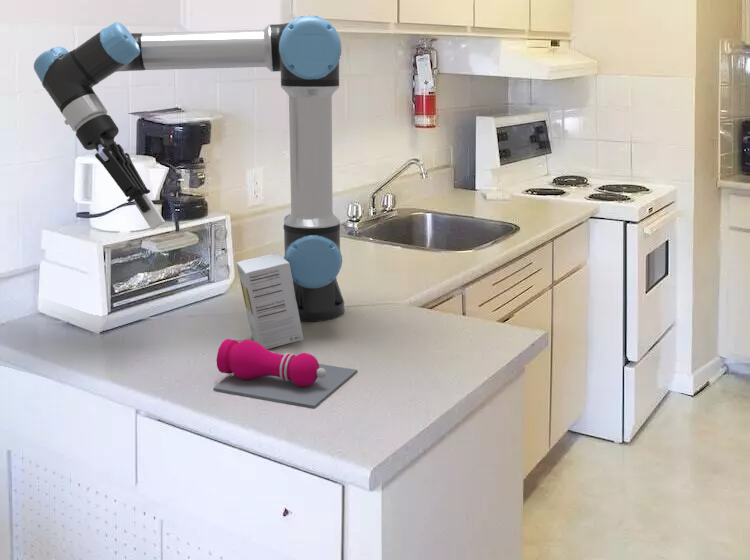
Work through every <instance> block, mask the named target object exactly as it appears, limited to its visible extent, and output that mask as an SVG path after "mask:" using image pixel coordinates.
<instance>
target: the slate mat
mask: <svg viewBox="0 0 750 560" xmlns="http://www.w3.org/2000/svg"><path fill="white" fill-rule="evenodd" d="M319 368H324V369H325V371H326V375H325V377H323V378H319V377H317V379H316V381H315V382H314V383H313V384H312V385H310V386H307V387H300V386H297V385H296V384H294V383H293V381H292V380H291V381H286V380H285V381H283V380H282V379H281V378H280V377H277V376H262V377H258V378H255V379H247V380H246V379H240V378H238V377H236V376H235V375H234V374H233V375H231V376H230V377H228V378H227V379H225V380H224V381H222V382H221V383H219V384H217V385H216V386H214V387H213V391H214V392H218V393H219V392H220V393H225V394H232V395H236V396H242V397H246V398H247V397H248V398H253V399H260V400H265V401H270V402H276V403H282V404H286V405H287V404H288V405H292V406H298V407H305V408H309V409H316V408H317V407H318V406H319V405H321V403H323V402H324V401H325V400H326V399H328V398H329V397H330V396H331V395H333V393H334V392H336V391H337V390H338V389H340V388H341V387H342V386H343V385H344V384H346V382H348V381H349V380H350V379H351V378H352V377H353V376H355V375H356V374H357V373H358V369H354V368H348V367H341V366H336V365H335V366H334V365H328V364H322V363H319Z"/></svg>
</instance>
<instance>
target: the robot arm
mask: <svg viewBox="0 0 750 560" xmlns="http://www.w3.org/2000/svg"><path fill="white" fill-rule="evenodd" d="M341 55H342V41H341V37H340V35H339V33H338V32H337V30H336V28H335V27H334V26H333V24H331V22H329V21H328V20H326V19H325V18H323V17H319V16H316V15H310V14H309V15H302V16H301V15H300V16H298V17H296V18H295V19H292V20H291V21H289V22H286V23H277V24H275V23H274V24H268V25H267V26H266V27H264V28H263V29H246V30H245V29H243V30H208V31H206V30H205V31H173V32H172V31H171V32H170V31H169V32H168V31H167V32H140V33H139V32H138V33H137V32H136V33H135V32H133V33H132V32H130V31H129V29H128V28H127V27H126V26H125V25H124V24H123V23H122V22H119V21H116V22H113V23H111V24H110V25H108V26H106V27H103V28H101V30H100V31H99V32H97V33H96V34H95V35H93V36H92V37H91V38H89V39H88V40H86V41H85V42H83V43H82V44H81V45H79V46H78V47H76V48H75V49H73V50H70V51H69V50H68V49H67V48H65V47H62V46H55V47H52V48H50V49H48V50H46V51H44V52H42V53H40V54H39V55H38V56H37V57H36V59H35V61H34V63H33V70H34V72H35V73H36V75H37V77H38V79H39V81H40V83H41V85H42V87H43V88H44V90H45V91H46V92H47V94H48V95H49V96H50V98H51V99H52V101H53V102H54V104H55V105H56V106H57V108H58V110H59V111H60V113H61V114H62V116H63V118H65V120H64V124H65V125H66V126H67V125H68V126H69V127H70V128H71V129H72V131H73V132H75V136H76V137H77V139H78V141H79V142H80V144H81V146H82V147H83V148H84V149H85V150H87V151H92V150H95V151H97V152H96V153H95V154H94V156H95V158H96V160H98V161H99V163H100V164H102V166H103V167H104V170H106V171H107V173H108V174H109V175H110V177H111V178H112V179H113V180H114V182H115V183H116V185H117V187H119V189H120V190H121V192H122V193H123V194H124V196H125V197H127V199H126V202H128V203H132V202H133V203H134V205H135V206H136V208H137V210H138V211H139V212H140V213H141V215H142V217H143V218H144V220H145V222H146V223H147V224H148V226H149V228H150V230H155V229H157V228H158V227H161V226H162V225H163V224H165V223H166V221H165V219H164V218H163V216H162V215H161V212H159V210H158V209H157V207H156V205H155V204H154V202H153V201H152V200H151V198H150V196H149V195H148V194H150V193H151V190H150V189H148V188H147V186H146V184H145V183H144V181H143V179H142V177H141V175H140V174H139V171H138V170H137V168H136V167H135V165H134V163H133V161H132V159H131V156H130V154H129V153H127V152H124V151H125V150H124V148H123V146H122V145H120V144H119V143H117V142H116V141H115V137H117V135H118V134H119V133H120V132H119V128H118V125H117V124H116V123H115V122H114V120H113V118H112V116H111V115H109V114H108V110H107V108H106V107H105V106H104V103H103V102H102V101H101V99H100V98H99V96H98V95H97V94H96V93H95V91H94V89H93V87H94V86H96V85H97V84H100V83H101V82H102V81H104V80H105V79H106V78H108V77H109V76H111V75H112V74H114V73H116V72H135V71H137V72H138V71H157V70H158V71H159V70H160V71H161V70H163V71H164V70H165V71H166V70H167V71H168V70H197V69H199V70H200V69H201V70H202V69H205V70H207V69H231V68H232V69H235V68H237V69H238V68H240V69H243V68H267V69H268V70H269V71H270V72H280V87H281V89H282V90H283V91H284V92H285V93H286V94H287V96H288V113H289V114H288V115H289V116H288V121H289V160H290V161H289V168H290V169H289V172H290V173H289V174H290V214H287V215H286V216H285V217H284V219H283V220H284V221H283V225H282V228H283V231H284V232H283V236H284V239H283V240H284V243H283V244H284V245H283V246H284V256H283V258H284V259H285V260H286V261H288V262H289V263H290V268H291V274H292V279H293V285H294V292H295V298H296V302H297V307H298V312H299V317H300V322H317V321H318V322H319V321H326V320H327V321H328V320H331V319H335V318H338V317H340V316H342V315H343V314H344V313H345V301H344V297H343V295H342V291H341V288H340V286H339V282H338V278H337V277H338V275H339V273H340V271H341V269H342V265H343V255H342V252H341V222H340V219H339V218H338V217H337V216H336V215H335V214H334V213H333V211H334V210H333V103H332V102H333V95H334V93H335V92H336V91H337V90H338V89H339V88H340V59H341Z"/></svg>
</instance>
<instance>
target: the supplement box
mask: <svg viewBox="0 0 750 560" xmlns="http://www.w3.org/2000/svg"><path fill="white" fill-rule="evenodd" d="M236 267H237V272H238V273H237V274H238V277H239V282H240V286H241V293H242V297H243V302H244V306H245V310H246V316H247V321H248V324H249V330H250V331H249V332H250V334H251V337H252V339H253V341H255V342H257V343H259V344H260V345H262V346H263V347H265V348H266V349H267V350H269V349H273V348H276V347H280V346H285V345H288V344H291V343H295V342H299V341H303V340H304V334H303V328H302V323H301V321H300V317H299V312H298V307H297V302H296V298H295V292H294V285H293V279H292V274H291V268H290V263H289V262H288V261H286V260H285V259H284V256H282V255H281V254H280V252H274V253H270V254H265V255H262V256H257V257H252V258H248V259H244V260H240V261H236Z"/></svg>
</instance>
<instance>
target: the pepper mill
mask: <svg viewBox="0 0 750 560" xmlns="http://www.w3.org/2000/svg"><path fill="white" fill-rule="evenodd" d="M319 364H320V363H319V360H318V359H317V358H316V357H315V356H314V355H313V354H311V353H307V352H302V353H298V354H297V355H296V354H295V353H290V352H286V353H285V354H281V353H276V352H272V351H271V350H269V349H266V348H265V347H263V346H262V345H260V344H259V343H257V342H255V341H254V340H251V339H243V340H241V341H238V340H237V339H230V338H226V339H224V340H223V341H222V342H221V344H220V345H219V348H218V351H217V354H216V367H217V369H218V371H219V372H220V373H222V374H228V375H231V374H233V375H235V376H236V377H238V378H240V379H246V380H247V379H255V378H258V377H262V376H277V377H280V378H281V379H282V380H283V381H285V380H286V381H291V380H292V381H293V383H294V384H296V385H297V386H300V387H307V386H310V385H312V384H313V383H314V382H315V381H316V379H317V377H319V378H323V377H325V375H326V371H325V369H324V368H319Z"/></svg>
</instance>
